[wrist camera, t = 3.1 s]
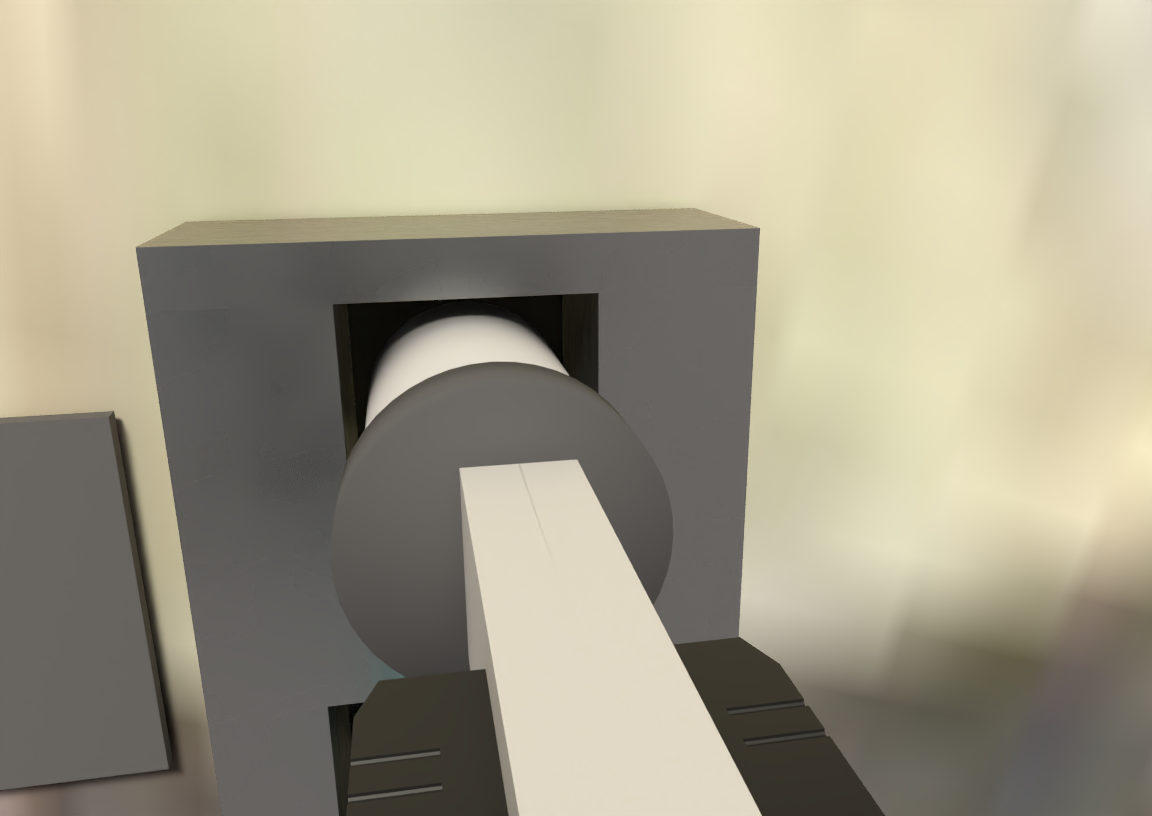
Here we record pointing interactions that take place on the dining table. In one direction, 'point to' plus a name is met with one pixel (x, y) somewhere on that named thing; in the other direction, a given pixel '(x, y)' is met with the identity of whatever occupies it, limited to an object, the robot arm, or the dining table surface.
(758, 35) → the dining table surface
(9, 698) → the mat
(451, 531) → the plunger
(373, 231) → the housing
